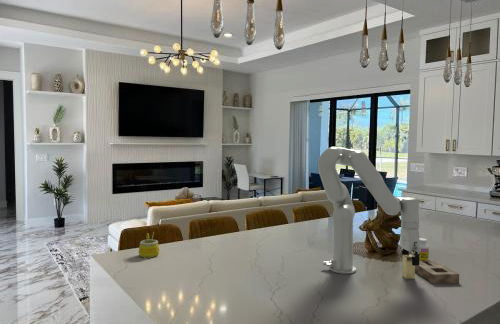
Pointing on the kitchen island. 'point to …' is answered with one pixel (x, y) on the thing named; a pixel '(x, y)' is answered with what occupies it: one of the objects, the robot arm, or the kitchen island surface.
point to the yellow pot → (149, 248)
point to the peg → (408, 267)
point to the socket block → (436, 272)
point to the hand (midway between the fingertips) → (410, 262)
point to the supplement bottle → (423, 249)
